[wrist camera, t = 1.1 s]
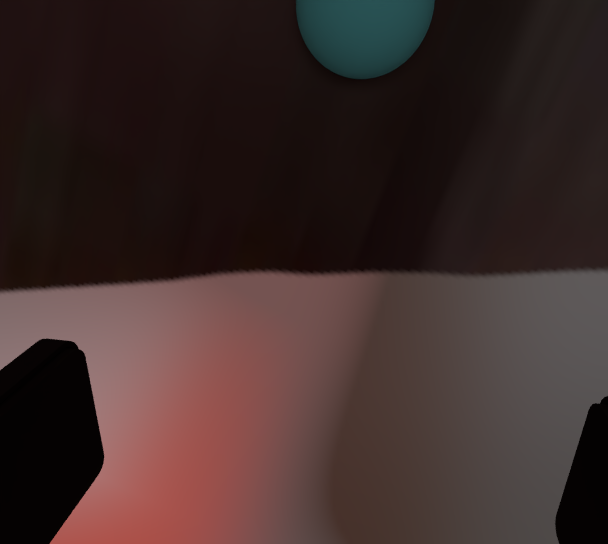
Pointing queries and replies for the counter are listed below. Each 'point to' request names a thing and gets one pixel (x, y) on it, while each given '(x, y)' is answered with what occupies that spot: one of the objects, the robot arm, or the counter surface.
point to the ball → (363, 33)
